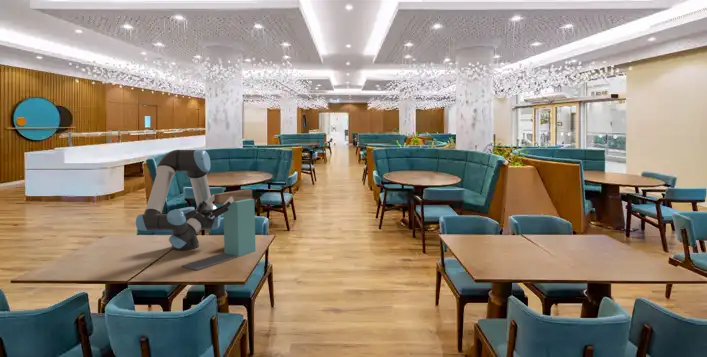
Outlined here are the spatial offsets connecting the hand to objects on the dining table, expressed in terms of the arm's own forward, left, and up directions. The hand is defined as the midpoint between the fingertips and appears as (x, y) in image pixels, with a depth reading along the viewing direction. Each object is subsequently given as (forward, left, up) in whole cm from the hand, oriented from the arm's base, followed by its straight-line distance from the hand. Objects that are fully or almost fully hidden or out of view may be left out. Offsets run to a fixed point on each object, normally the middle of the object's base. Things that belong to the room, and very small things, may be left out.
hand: (223, 197), depth 236 cm
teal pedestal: (0, +11, -33) cm, 35 cm away
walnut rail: (0, +8, -3) cm, 8 cm away
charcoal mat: (0, -10, -33) cm, 34 cm away
